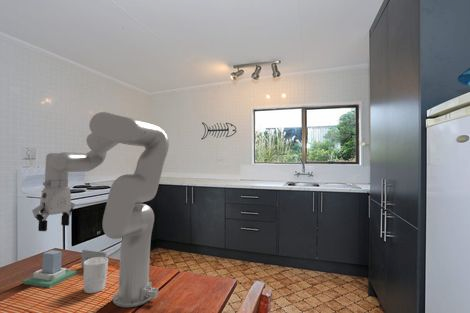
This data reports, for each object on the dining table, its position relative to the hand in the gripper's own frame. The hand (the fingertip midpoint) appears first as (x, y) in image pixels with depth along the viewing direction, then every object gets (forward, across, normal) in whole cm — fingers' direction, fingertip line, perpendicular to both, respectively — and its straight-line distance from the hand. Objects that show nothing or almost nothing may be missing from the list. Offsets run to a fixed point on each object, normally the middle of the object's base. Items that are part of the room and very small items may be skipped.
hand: (54, 228), depth 98 cm
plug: (+18, 0, 0) cm, 18 cm away
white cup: (+20, -2, -22) cm, 30 cm away
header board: (+20, 0, 0) cm, 20 cm away
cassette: (+20, +12, -8) cm, 25 cm away
